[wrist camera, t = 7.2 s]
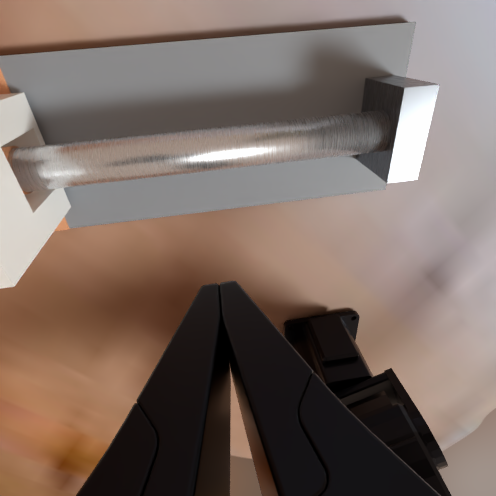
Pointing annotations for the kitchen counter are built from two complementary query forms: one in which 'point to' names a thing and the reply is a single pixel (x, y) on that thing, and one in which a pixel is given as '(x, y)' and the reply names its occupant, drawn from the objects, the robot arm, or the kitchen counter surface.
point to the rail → (248, 144)
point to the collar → (23, 196)
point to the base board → (207, 110)
